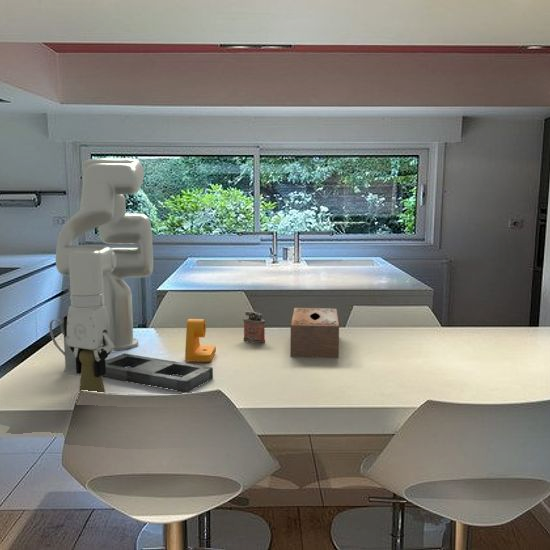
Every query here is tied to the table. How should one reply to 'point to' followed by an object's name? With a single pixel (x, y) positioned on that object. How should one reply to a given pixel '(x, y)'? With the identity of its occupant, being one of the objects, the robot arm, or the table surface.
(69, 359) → the grey mug
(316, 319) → the tissue box cover
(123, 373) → the tray
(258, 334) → the lighter
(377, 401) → the table surface
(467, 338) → the table surface
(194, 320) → the bracket
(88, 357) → the olive tall tapered piece
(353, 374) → the table surface
